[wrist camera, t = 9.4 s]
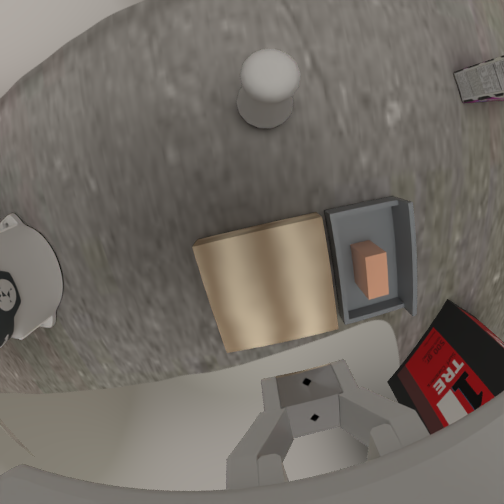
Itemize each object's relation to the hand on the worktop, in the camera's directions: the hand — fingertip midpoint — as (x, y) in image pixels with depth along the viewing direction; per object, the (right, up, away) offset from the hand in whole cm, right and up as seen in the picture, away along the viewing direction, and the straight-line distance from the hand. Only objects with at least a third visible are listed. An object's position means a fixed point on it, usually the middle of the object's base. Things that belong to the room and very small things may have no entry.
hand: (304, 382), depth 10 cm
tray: (+12, +4, +25) cm, 28 cm away
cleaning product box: (+28, -11, +30) cm, 42 cm away
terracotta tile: (+10, +2, +22) cm, 24 cm away
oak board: (0, +1, +26) cm, 26 cm away
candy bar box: (+31, +29, +17) cm, 46 cm away
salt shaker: (-1, +21, +20) cm, 29 cm away
